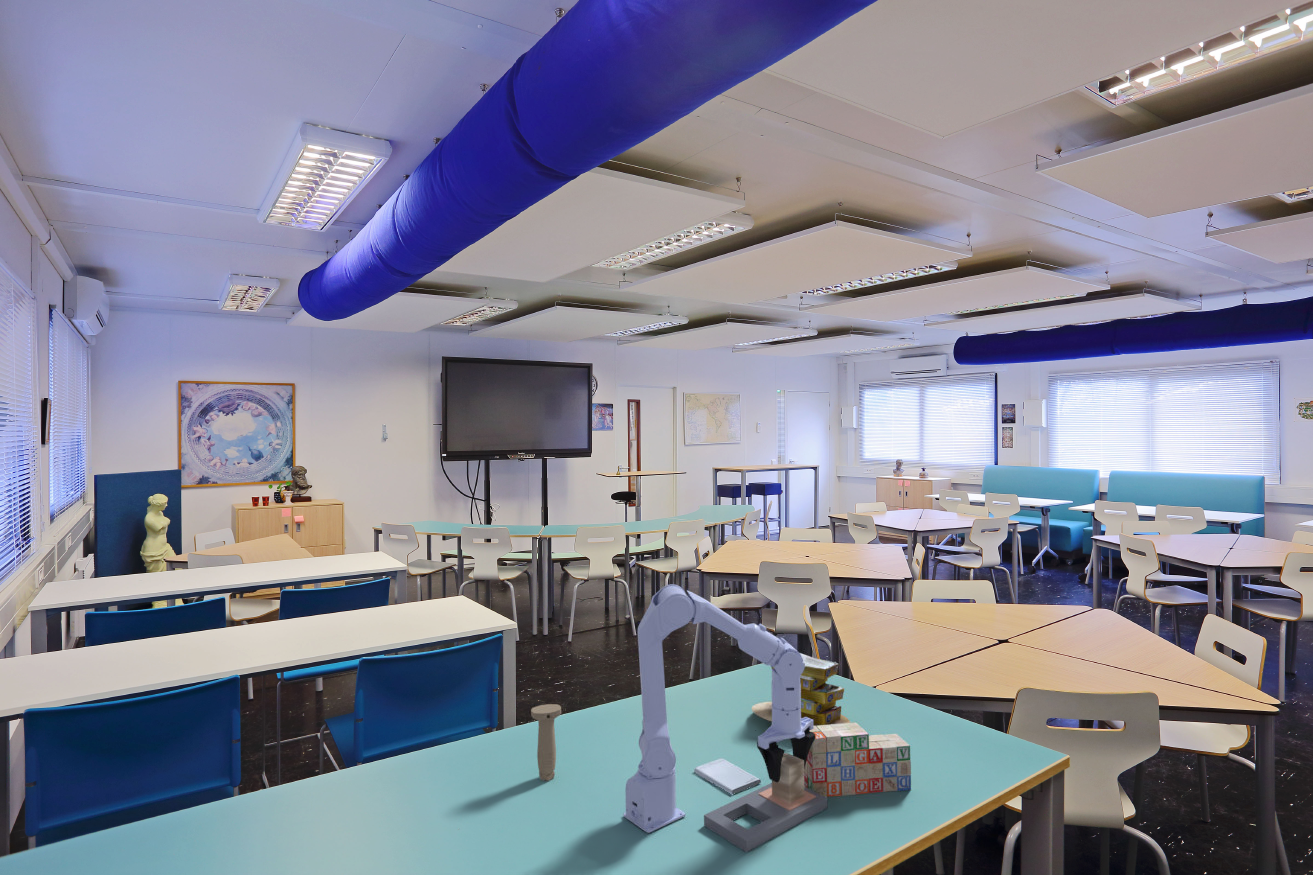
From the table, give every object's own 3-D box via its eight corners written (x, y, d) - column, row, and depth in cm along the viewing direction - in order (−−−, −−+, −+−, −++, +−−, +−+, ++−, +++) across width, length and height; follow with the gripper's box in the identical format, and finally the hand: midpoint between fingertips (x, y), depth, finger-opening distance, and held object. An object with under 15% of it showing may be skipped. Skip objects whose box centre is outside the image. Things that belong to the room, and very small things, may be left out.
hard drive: (761, 778, 145) (722, 756, 155) (731, 790, 140) (694, 766, 150) (761, 786, 145) (722, 764, 155) (732, 798, 140) (694, 774, 150)
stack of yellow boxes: (789, 697, 194) (788, 638, 194) (868, 721, 176) (867, 657, 176) (732, 721, 177) (732, 657, 178) (814, 752, 159) (813, 680, 160)
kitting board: (746, 852, 121) (746, 839, 121) (704, 825, 129) (703, 813, 129) (827, 807, 135) (827, 796, 135) (784, 786, 144) (784, 775, 144)
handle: (530, 775, 149) (529, 706, 150) (559, 770, 152) (558, 702, 152) (534, 785, 145) (533, 714, 145) (563, 780, 147) (563, 710, 147)
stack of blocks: (897, 776, 148) (896, 719, 148) (911, 790, 142) (910, 731, 142) (802, 783, 145) (801, 725, 145) (812, 798, 139) (811, 737, 139)
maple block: (789, 803, 133) (789, 767, 133) (771, 794, 136) (771, 759, 136) (804, 795, 135) (803, 760, 136) (786, 786, 139) (786, 752, 139)
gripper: (777, 721, 128) (778, 793, 128) (825, 702, 138) (826, 769, 137) (749, 710, 134) (750, 779, 134) (797, 692, 143) (798, 757, 143)
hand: (787, 773), depth 136 cm, fingers open, 7 cm apart
